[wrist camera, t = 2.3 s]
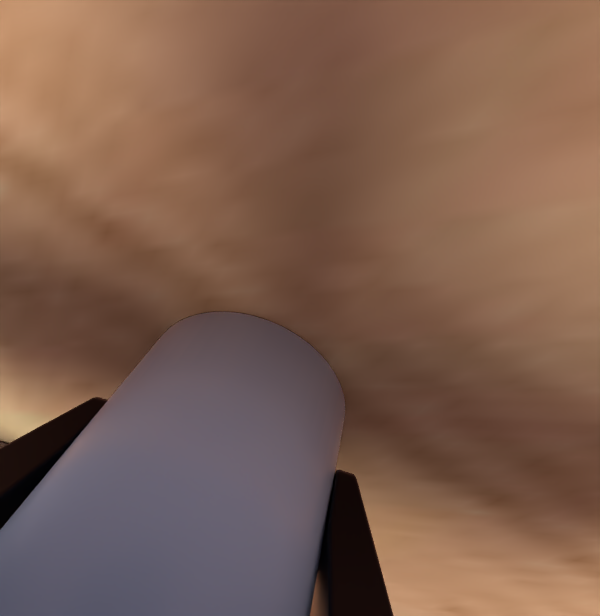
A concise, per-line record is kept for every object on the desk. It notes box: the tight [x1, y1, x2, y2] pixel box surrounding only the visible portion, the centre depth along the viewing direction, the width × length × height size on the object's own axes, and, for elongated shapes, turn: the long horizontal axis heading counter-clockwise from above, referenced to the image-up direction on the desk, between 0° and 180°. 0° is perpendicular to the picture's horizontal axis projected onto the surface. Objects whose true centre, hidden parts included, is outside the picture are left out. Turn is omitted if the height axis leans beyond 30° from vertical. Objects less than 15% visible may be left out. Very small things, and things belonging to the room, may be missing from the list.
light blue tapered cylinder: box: [0, 312, 345, 616], centre depth 8 cm, size 5×5×7 cm
